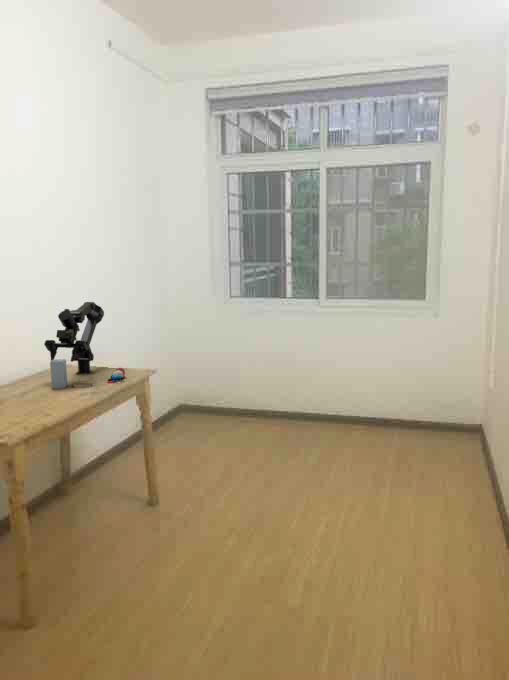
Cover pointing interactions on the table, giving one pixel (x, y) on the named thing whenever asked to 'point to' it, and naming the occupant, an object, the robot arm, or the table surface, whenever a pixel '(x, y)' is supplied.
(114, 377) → the toy figure
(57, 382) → the pale blue box
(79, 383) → the coaster
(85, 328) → the robot arm
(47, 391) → the table surface
